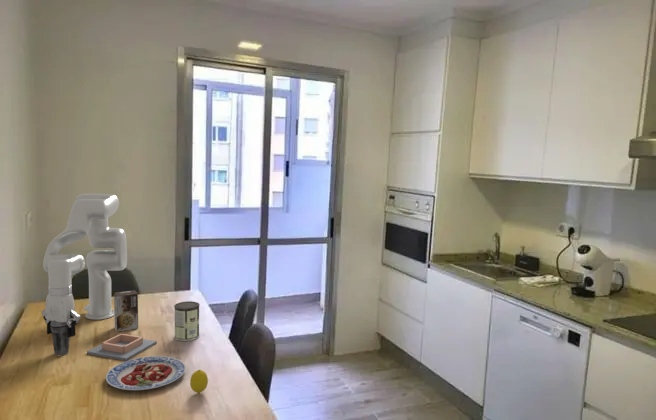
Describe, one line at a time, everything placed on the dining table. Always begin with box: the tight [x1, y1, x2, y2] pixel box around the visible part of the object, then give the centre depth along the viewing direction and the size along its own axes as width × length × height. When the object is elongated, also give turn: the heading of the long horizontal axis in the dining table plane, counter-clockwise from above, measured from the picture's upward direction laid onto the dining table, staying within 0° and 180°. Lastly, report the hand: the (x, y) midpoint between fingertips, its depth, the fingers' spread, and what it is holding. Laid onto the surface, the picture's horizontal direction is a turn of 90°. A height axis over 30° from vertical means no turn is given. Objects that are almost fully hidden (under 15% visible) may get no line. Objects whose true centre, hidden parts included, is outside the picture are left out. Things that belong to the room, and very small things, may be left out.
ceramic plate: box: [105, 355, 186, 391], centre depth 162 cm, size 26×26×3 cm
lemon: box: [189, 369, 209, 394], centre depth 151 cm, size 6×6×8 cm
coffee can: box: [173, 300, 200, 342], centre depth 199 cm, size 10×10×14 cm
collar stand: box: [86, 333, 157, 362], centre depth 184 cm, size 18×18×4 cm
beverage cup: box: [50, 318, 72, 356], centre depth 177 cm, size 7×7×20 cm
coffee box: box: [113, 289, 139, 333], centre depth 206 cm, size 9×6×16 cm
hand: (61, 334), depth 177 cm, fingers open, 9 cm apart
